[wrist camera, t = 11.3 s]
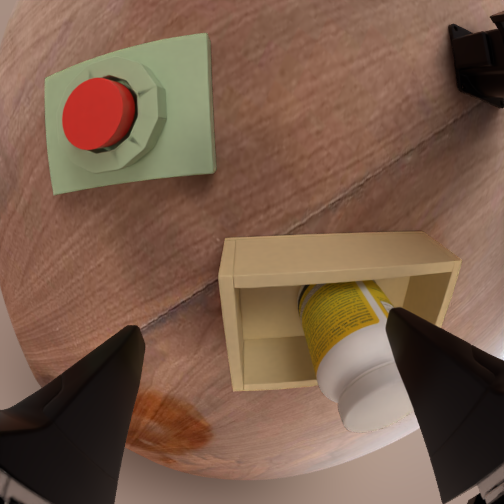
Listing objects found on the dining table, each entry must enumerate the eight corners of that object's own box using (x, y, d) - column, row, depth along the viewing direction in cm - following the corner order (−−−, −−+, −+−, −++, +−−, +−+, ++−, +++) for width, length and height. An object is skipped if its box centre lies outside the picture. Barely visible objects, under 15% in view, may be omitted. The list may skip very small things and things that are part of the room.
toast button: (134, 74, 12) (121, 69, 10) (137, 141, 14) (125, 142, 12) (76, 91, 12) (61, 89, 10) (80, 153, 14) (64, 156, 12)
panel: (210, 40, 14) (202, 21, 11) (216, 170, 18) (210, 178, 14) (57, 79, 14) (29, 76, 11) (65, 190, 18) (38, 202, 14)
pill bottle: (290, 325, 22) (314, 446, 12) (301, 256, 20) (348, 377, 10) (360, 324, 22) (409, 428, 12) (379, 259, 20) (459, 358, 10)
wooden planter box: (422, 230, 19) (462, 260, 14) (400, 326, 23) (424, 365, 18) (224, 237, 19) (217, 276, 14) (234, 342, 23) (232, 391, 18)
